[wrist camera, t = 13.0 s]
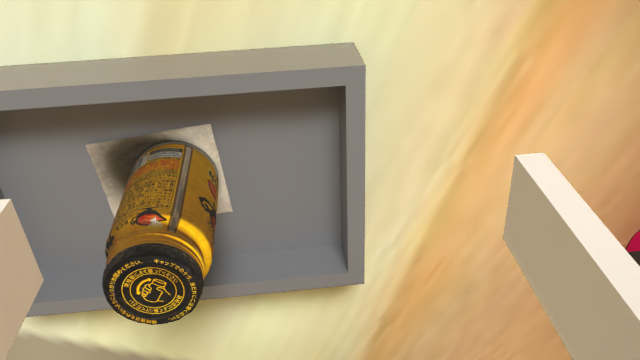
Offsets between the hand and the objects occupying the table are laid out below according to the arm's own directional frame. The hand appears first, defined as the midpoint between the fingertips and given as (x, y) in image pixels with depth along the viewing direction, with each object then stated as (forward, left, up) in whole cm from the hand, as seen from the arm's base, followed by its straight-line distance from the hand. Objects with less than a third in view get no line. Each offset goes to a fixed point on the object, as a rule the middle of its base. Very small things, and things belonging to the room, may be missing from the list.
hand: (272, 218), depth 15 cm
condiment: (+8, +11, -23) cm, 27 cm away
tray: (+7, +11, -24) cm, 28 cm away
